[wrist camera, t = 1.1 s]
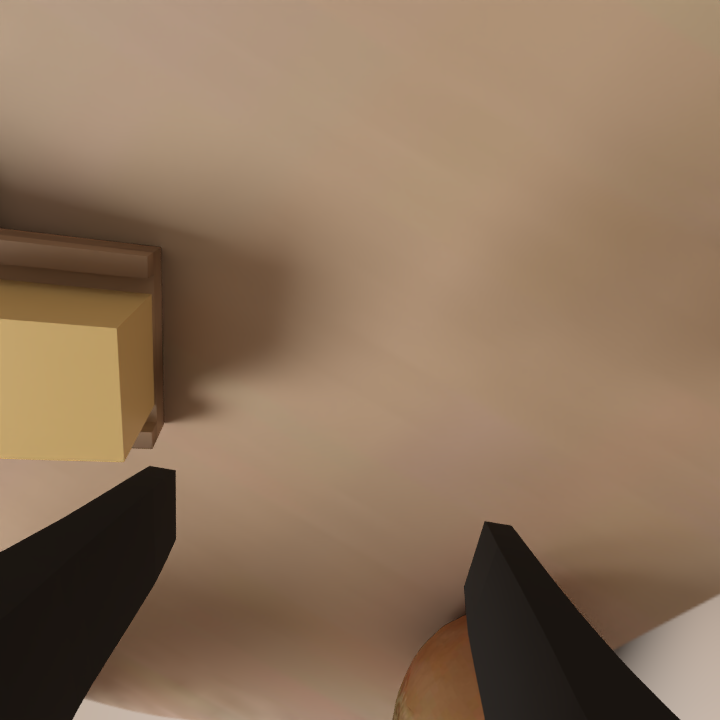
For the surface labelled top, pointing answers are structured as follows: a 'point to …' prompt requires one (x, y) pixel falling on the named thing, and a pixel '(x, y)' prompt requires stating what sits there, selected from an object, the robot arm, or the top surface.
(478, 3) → the top surface
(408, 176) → the top surface
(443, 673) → the onion
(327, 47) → the top surface
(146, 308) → the block
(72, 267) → the beam
